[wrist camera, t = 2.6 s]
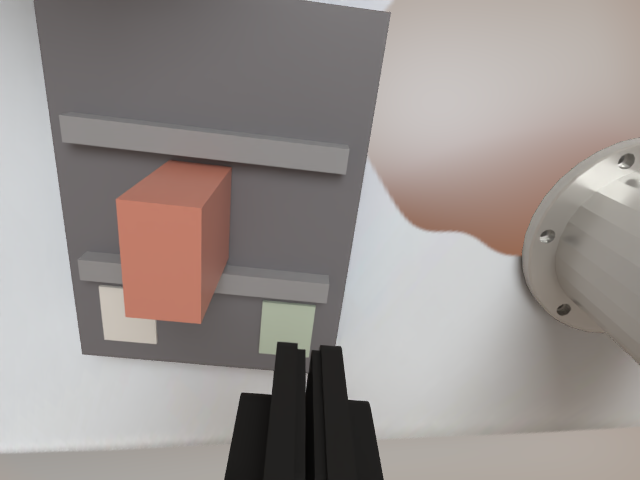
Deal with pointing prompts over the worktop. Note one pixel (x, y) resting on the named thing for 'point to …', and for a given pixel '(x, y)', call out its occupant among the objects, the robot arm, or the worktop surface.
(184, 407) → the worktop surface
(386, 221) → the worktop surface
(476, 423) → the worktop surface
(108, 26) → the breaker panel
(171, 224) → the handle
